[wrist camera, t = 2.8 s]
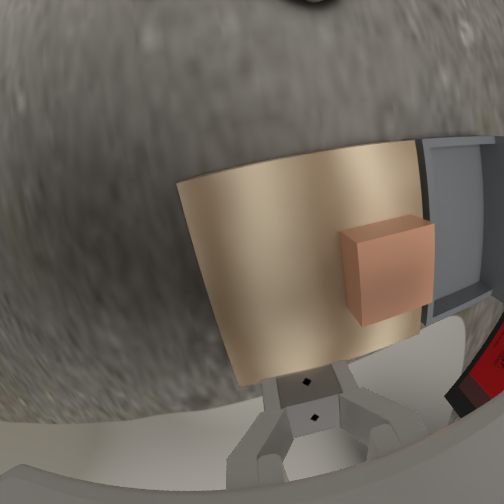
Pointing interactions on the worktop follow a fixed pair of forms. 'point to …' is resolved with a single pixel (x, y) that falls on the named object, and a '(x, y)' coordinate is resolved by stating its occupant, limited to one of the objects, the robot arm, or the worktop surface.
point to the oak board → (296, 252)
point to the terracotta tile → (388, 267)
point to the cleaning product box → (481, 375)
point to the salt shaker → (313, 1)
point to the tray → (463, 219)
